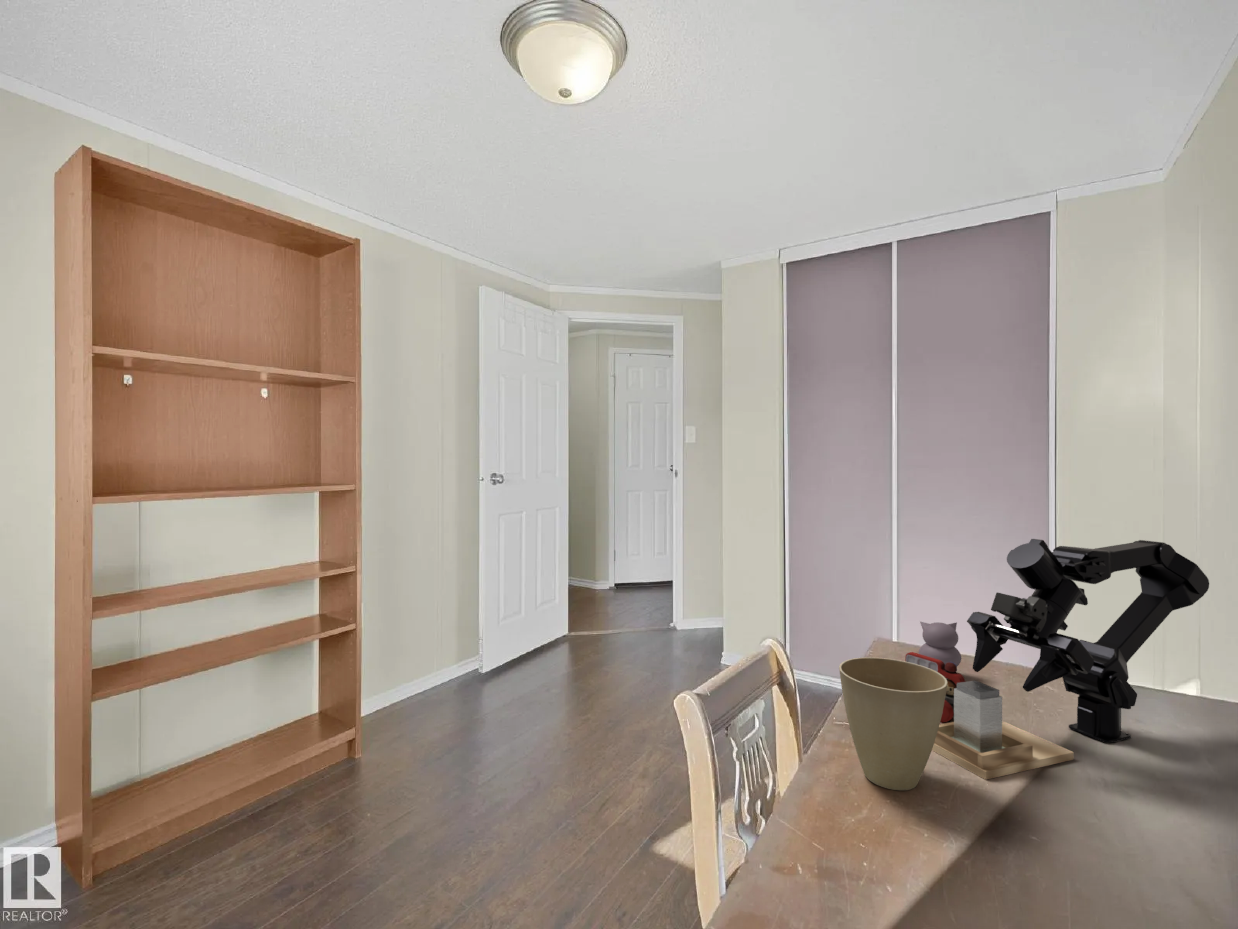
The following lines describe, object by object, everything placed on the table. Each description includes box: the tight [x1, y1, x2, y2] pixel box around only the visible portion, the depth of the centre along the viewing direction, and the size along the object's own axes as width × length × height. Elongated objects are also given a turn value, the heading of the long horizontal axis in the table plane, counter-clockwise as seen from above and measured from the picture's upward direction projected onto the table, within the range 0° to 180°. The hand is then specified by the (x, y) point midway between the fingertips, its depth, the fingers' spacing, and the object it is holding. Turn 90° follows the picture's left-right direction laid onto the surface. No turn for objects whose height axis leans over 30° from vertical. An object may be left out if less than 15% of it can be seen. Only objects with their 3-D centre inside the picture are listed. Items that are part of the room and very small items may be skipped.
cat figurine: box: [918, 621, 962, 679], centre depth 134 cm, size 8×8×12 cm
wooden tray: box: [932, 721, 1075, 781], centre depth 99 cm, size 19×12×3 cm, turn 109°
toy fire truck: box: [904, 651, 967, 724], centre depth 114 cm, size 7×12×10 cm, turn 32°
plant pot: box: [838, 656, 948, 791], centre depth 90 cm, size 15×15×16 cm
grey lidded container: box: [953, 680, 1003, 753], centre depth 97 cm, size 4×5×10 cm
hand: (998, 679), depth 99 cm, fingers open, 9 cm apart
